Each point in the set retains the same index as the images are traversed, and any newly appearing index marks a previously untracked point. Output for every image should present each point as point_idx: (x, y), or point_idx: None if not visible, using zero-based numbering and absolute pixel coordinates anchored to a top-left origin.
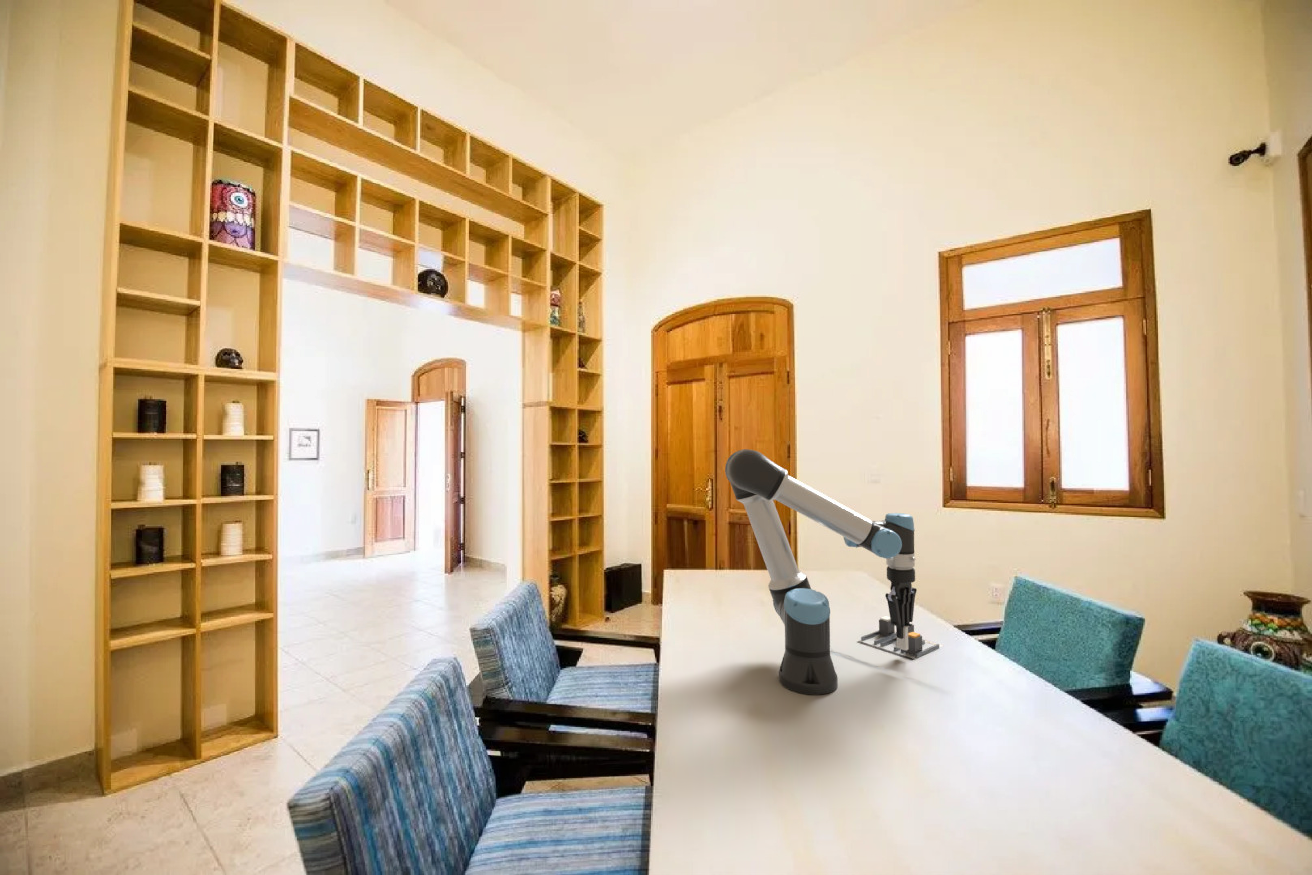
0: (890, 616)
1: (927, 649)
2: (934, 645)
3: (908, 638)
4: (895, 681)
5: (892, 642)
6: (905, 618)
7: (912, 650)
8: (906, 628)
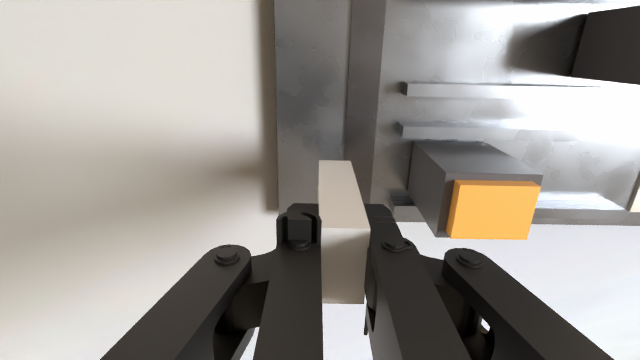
0: (146, 319)
1: None
2: (590, 211)
3: (437, 192)
4: (125, 232)
5: (533, 1)
6: (376, 342)
7: (416, 187)
8: (337, 296)
